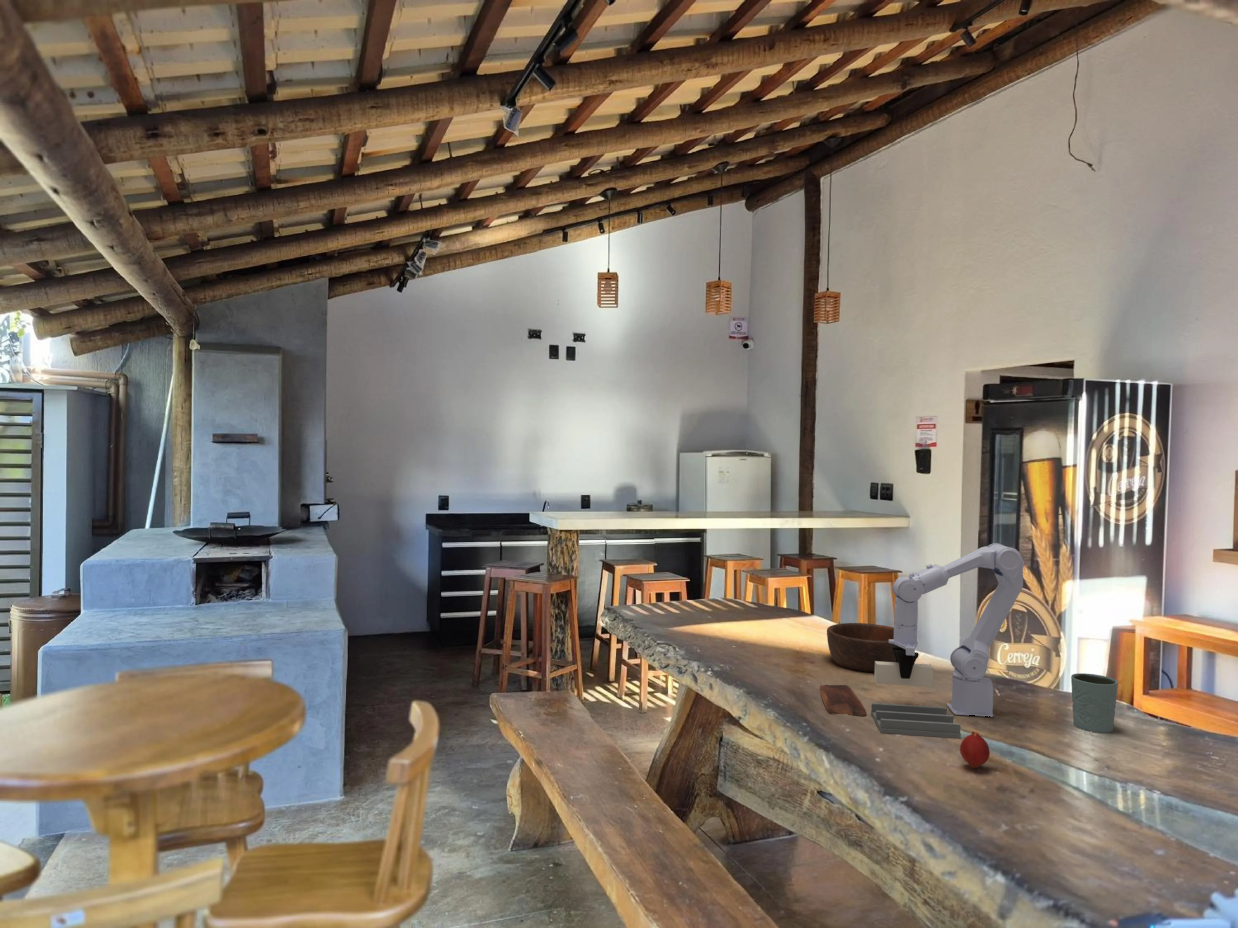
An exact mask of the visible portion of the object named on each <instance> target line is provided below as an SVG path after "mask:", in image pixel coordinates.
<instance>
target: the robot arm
mask: <svg viewBox="0 0 1238 928" xmlns="http://www.w3.org/2000/svg"><path fill="white" fill-rule="evenodd" d="M1025 564H1026V563H1025V561H1024V558H1023V557H1022V555H1021V553H1020V551H1018V550H1017V549H1016V548H1015V547H1010V546H1005V545H1004V544H1001V543H999V542H997V543H996V542H994V543H991V544H989V545H987V546H985V545H984V546H982V547H979V548H977V549H976V550H974V551H972V552H970V553H968V554H965V555H963V556H961V557H959V558H957V559H955V560H953V561H950V562H949V563H947V564H944V565H943V566H941V565H940V564H931V563H929V564H926V565H925V568H924V569H921V570H919V571H917V572H909V574H908V575H909V577H908V576H900V577H898V578H897V579H895V581H894V583H893V585H892V587H891V589H892V592H893V594H894V595H895V597H894V609H893V611H894V613H893V614H894V616H893V619H894V620H893V627H894V639H889V643H891V644H895V645H897V646H891V647H892V650H893V652H894V655H895V659H896V662H897V663H899V669H900V676H901V678H903V679H910V676H911V673H912V669H913V665H914V664H916V663H915V662H916V661H917V659H918V658H919V656H920V655H919V652H916V648H917V647H918V645H919V644H918V622H919V621H918V618H919V616H918V615H919V599H920V598H921V597H922V595H926V594H928V593H930V592H933V591H935V590H937V589H939V588H942V587H944V586H947V584H948V582H949V579H951V578H953V577H956V576H959V575H961V574H964V573H966V572H969V571H973V570H974V569H977V568H982V569H983V568H984V569H990V570H992V572H993V573H994V576H995V578H996V580H997V583H998V584H997V586H996V588H995V590H994V592H993V593H992V595H991V597H990V598H989V601H988V602H987V604H986V606H985V608H984V610H983V611H982V614H981V615H980V617H979V619H978V620H977V623H975V626H974V627H973V630H972V631H971V633H970V635H969V636H968V637H967V638H965V639H964V640H962V641H961V643H960V645H959V646H958V647H956V648H955V649H954V650H952V652H951V653H950V656H949V657H950V663H951V664H950V665H951V666H952V667H953V671H952V680H951V681H952V685H951V687H952V688H951V689H952V690H951V703H949V702H948V703H946V706H947V707H948V709H949V710H950V711H951V712H952V714H954V716H955V715H956V716H969V715H975V716H974V717H985V716H988V718H993V717H994V714H993V711H994V709H993V708H994V707H993V706H994V685H993V682H992V679H990V678H988V677H985V675H986V673H987V670H988V662H989V660H990V658H991V654H990V653H991V652H990V648H991V646H992V644H993V642H994V640H995V638H996V636H997V634H998V633H999V631H1000V629H1001V627H1002V626H1003V624H1004V622H1005V621H1006V618H1007V617H1008V615H1009V613H1010V611H1011V610H1012V608H1013V606H1014V605H1015V602H1016V601H1017V599H1018V597H1019V595H1020V594H1021V592H1022V589H1023V587H1024V566H1025ZM989 716H990V717H989Z"/></svg>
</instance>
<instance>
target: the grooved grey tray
mask: <svg viewBox="0 0 1238 928" xmlns="http://www.w3.org/2000/svg"><path fill="white" fill-rule="evenodd" d="M870 714H871V717H872V716H873V717H872V718H873V720H874V722H875V725H876V726H877V728H878V731H879V732H880V733H881V734H886V733H890V734H889V735H891V734H892V735H902V734H903V735H906V736H918V737H919V736H921V737H935V738H949V739H961V737H962V735H961V734H962V733H961V724H960V723H957V722H954V720H955V719H954V716H955V715H953V714H948V708H947V707H946V706H930V705H929V706H928V705H912V704H897V703H881V702H880V703H879V702H871V709H870Z"/></svg>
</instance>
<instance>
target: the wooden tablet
mask: <svg viewBox="0 0 1238 928" xmlns="http://www.w3.org/2000/svg"><path fill="white" fill-rule="evenodd" d="M819 687H820V689H819V688H818V691H819V690H820V691H819V693H820V696H821V698H822V701H823V704H824V707H825V709H826V711H827V713H828V714H830V715H836V714H841V715H846V714H848V716H851V715H852V717H866V716H867V711H866V707H864V705H863V703H862V701H861V700H860V698H859V697H858V696H857V695H856V694H855V692H854V690H853V689H852V688H851V687H850V686H849V685H847V684H823V685H820V686H819Z"/></svg>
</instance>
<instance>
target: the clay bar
mask: <svg viewBox="0 0 1238 928" xmlns="http://www.w3.org/2000/svg"><path fill="white" fill-rule="evenodd" d="M873 673H874V679H873V680H874V682H875V683H876V685H880V684H881V685H896V686H910V687H911V686H913V687H926V688H927V687H930V688H933V687H934V686H933V685H934V667H933V666H932V664H930V663H929V664H926V663H914V665H913V669H912V673H911V676H910V679H903V678H901V676H900V669H899V663H897V662H880V661H875V672H873Z"/></svg>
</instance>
